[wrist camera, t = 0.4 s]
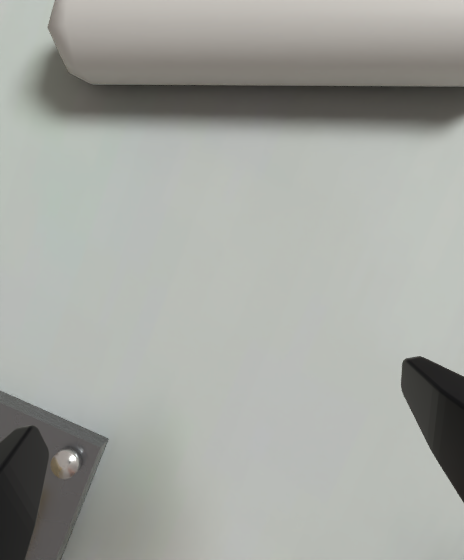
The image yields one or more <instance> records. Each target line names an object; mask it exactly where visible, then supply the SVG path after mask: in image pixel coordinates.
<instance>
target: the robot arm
mask: <svg viewBox="0 0 464 560" xmlns="http://www.w3.org/2000/svg"><path fill="white" fill-rule="evenodd" d="M401 388H402V392H403V395H404V397H405V399H406V401H407V403H408V405H409V407H410V409H411V411H412V413H413V415H414V417H415V419H416V421H417V423H418V425H419V427H420V429H421V431H422V433H423V435H424V437H425V439H426V441H427V443H428V445H429V447H430V449H431V451H432V453H433V454H434V456H435V458H436V459H437V461H438V463H439V464H440V466H441V467H442V469H443V471H444V472H445V474H446V475H447V477H448V479H449V480H450V482H451V483H452V485H453V486H454V488H455V490H456V491H457V493H458V494H459V496H460V497H461V499H462V501H463V502H464V376H462V375H459V374H457V373H455V372H453V371H451V370H449V369H447V368H445V367H443V366H441V365H439V364H436V363H434V362H432V361H430V360H428V359H426V358H424V357H421V356H417V357H412V358H406V359H405V360H403V363H402V377H401ZM48 461H49V450H48V447H47V445H46V443H45V441H44V439H43V437H42V435H41V433H40V431H39V429H38V427H36V426H35V425H29V426H24V427H19V428H16V429H15V430H14V431H12V432H11V433H10V434H9V435H8V436H7V437H6V438H4V439H3V440H2V441H1V442H0V560H25V558H26V554H27V551H28V548H29V545H30V541H31V538H32V535H33V531H34V528H35V524H36V520H37V515H38V511H39V506H40V501H41V496H42V491H43V486H44V481H45V476H46V471H47V466H48Z"/></svg>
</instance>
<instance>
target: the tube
mask: <svg viewBox="0 0 464 560" xmlns="http://www.w3.org/2000/svg"><path fill="white" fill-rule="evenodd" d="M48 30H49V32H50V34H51V36H52V38H53V41H54V43H55V45H56V47H57V49H58V52H59V54H60V56H61V58H62V60H63V62H64V64H65V66H66V68H67V70H68V72H69V73H70V74H72V75H74V76H76V77H78V78H80V79H82V80H84V81H86V82H88V83H90V84H92V85H276V86H460V87H464V0H55V2H54V6H53V9H52V13H51V17H50V20H49V24H48Z"/></svg>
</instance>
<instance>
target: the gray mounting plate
mask: <svg viewBox="0 0 464 560" xmlns="http://www.w3.org/2000/svg"><path fill="white" fill-rule="evenodd" d="M29 425H35V426H36V427H38V429H39V431H40V433H41V435H42V437H43V439H44V441H45V443H46V445H47V447H48V450H49V461H48V466H47V471H46V476H45V481H44V486H43V491H42V496H41V501H40V506H39V511H38V515H37V520H36V524H35V528H34V531H33V535H32V538H31V541H30V545H29V548H28V551H27V554H26V558H25V560H61V557H62V555H63V552H64V550H65V547H66V545H67V542H68V540H69V537H70V535H71V532H72V530H73V527H74V525H75V522H76V520H77V517H78V515H79V512H80V510H81V507H82V505H83V502H84V500H85V497H86V495H87V492H88V490H89V487H90V485H91V482H92V480H93V477H94V474H95V472H96V469H97V467H98V464H99V462H100V459H101V457H102V454H103V452H104V449H105V447H106V444H107V442H108V438H105V437H103V436H101V435H99V434H96V433H94V432H92V431H90V430H87V429H85V428H83V427H81V426H78V425H76V424H74V423H72V422H69V421H67V420H65V419H63V418H60V417H58V416H56V415H54V414H51V413H49V412H47V411H45V410H42V409H40V408H38V407H36V406H33V405H31V404H29V403H27V402H24V401H22V400H20V399H18V398H15V397H13V396H11V395H8V394H6V393H4V392H2V391H0V442H1V441H2V440H3V439H4V438H6V437H7V436H8V435H9V434H10V433H11V432H12V431H14V430H15V429H16V428H19V427H24V426H29Z"/></svg>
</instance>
